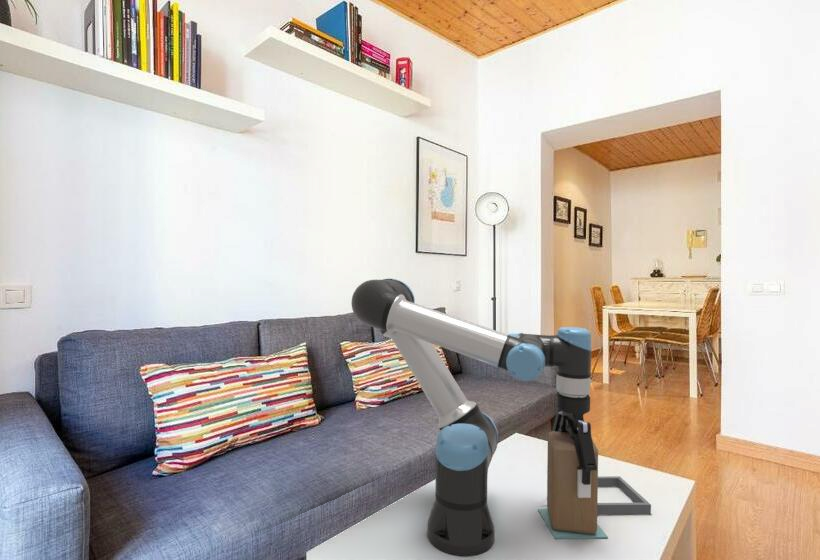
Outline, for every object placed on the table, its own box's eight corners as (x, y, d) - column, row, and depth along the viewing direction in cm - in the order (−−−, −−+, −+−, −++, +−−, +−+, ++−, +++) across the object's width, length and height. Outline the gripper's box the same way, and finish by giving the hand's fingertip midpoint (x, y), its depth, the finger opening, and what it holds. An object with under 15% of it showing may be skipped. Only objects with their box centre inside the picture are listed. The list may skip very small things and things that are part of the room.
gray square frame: (591, 515, 108) (591, 505, 108) (567, 485, 123) (567, 476, 123) (650, 514, 109) (650, 504, 109) (619, 485, 124) (619, 476, 124)
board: (555, 539, 98) (555, 537, 98) (537, 510, 110) (537, 508, 110) (607, 538, 99) (607, 536, 99) (584, 509, 111) (584, 508, 111)
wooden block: (588, 512, 109) (589, 432, 108) (598, 536, 99) (599, 448, 99) (546, 508, 111) (547, 429, 110) (551, 531, 101) (552, 444, 100)
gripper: (615, 409, 92) (613, 510, 92) (568, 380, 117) (566, 459, 117) (579, 409, 92) (577, 510, 92) (540, 380, 116) (538, 460, 117)
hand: (571, 482), depth 104 cm, fingers open, 13 cm apart
